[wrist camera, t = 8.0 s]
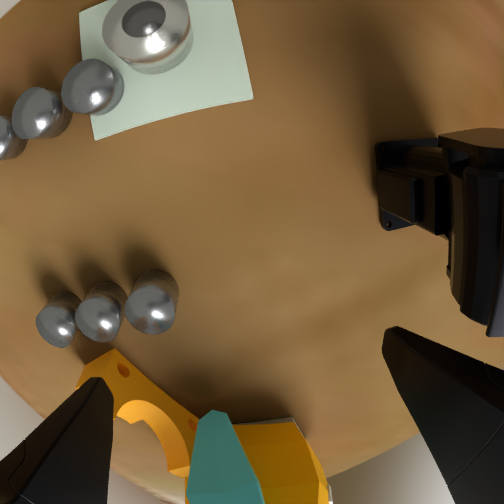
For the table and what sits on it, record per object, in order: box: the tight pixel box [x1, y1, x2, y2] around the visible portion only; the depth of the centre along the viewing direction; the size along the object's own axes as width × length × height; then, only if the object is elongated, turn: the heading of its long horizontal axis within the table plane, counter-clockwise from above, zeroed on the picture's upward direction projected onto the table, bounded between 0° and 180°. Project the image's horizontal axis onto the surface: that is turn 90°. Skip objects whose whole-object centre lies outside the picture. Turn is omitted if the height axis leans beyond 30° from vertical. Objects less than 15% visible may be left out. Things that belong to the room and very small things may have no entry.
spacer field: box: [0, 59, 179, 348], centre depth 16 cm, size 11×17×3 cm, turn 11°
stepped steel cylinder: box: [102, 0, 193, 75], centre depth 11 cm, size 4×4×4 cm
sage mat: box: [79, 0, 253, 140], centre depth 14 cm, size 10×10×1 cm
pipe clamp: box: [75, 348, 200, 478], centre depth 21 cm, size 12×4×6 cm, turn 32°
